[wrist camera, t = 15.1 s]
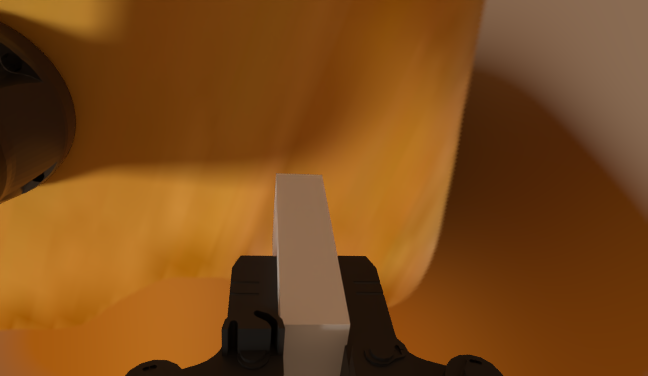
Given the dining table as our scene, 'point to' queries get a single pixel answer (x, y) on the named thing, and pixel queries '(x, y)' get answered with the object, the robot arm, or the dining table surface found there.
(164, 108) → the dining table surface
